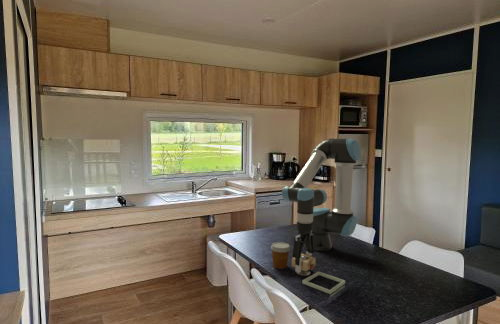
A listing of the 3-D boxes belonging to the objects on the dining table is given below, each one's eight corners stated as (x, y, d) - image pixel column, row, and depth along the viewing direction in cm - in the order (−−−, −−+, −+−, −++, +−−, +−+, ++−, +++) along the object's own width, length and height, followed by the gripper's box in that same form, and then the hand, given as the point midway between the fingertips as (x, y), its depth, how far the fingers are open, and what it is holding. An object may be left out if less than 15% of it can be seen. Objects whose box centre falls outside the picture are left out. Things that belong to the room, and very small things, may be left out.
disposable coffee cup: (274, 273, 151) (274, 249, 150) (267, 265, 160) (268, 242, 159) (292, 271, 153) (293, 247, 152) (285, 264, 162) (286, 241, 161)
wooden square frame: (301, 261, 156) (301, 253, 155) (317, 266, 149) (317, 258, 149) (291, 266, 150) (291, 257, 149) (308, 272, 143) (308, 263, 143)
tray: (318, 277, 148) (318, 271, 148) (345, 286, 139) (345, 280, 139) (302, 286, 138) (302, 280, 138) (330, 297, 129) (330, 291, 129)
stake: (300, 270, 155) (301, 252, 154) (313, 275, 150) (313, 256, 149) (292, 274, 150) (293, 256, 149) (305, 279, 145) (305, 260, 144)
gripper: (309, 215, 158) (308, 260, 160) (285, 224, 143) (283, 273, 145) (323, 218, 153) (321, 264, 155) (299, 227, 138) (297, 278, 140)
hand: (303, 268), depth 150 cm, fingers closed on wooden square frame, 8 cm apart
